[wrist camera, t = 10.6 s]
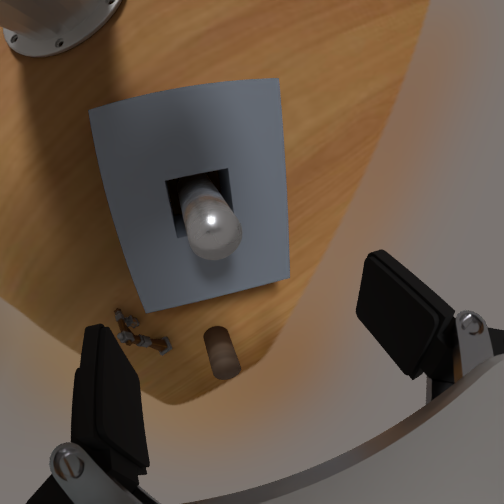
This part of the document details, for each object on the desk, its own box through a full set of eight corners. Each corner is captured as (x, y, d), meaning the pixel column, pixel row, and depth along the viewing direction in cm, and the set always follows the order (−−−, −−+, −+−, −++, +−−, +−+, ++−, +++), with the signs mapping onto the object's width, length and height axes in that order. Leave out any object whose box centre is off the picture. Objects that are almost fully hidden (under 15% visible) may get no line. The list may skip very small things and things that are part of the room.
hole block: (102, 109, 20) (88, 110, 16) (257, 82, 23) (278, 78, 19) (146, 283, 29) (146, 313, 25) (271, 253, 32) (289, 277, 28)
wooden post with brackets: (115, 302, 28) (125, 338, 25) (160, 319, 35) (173, 349, 32) (105, 311, 28) (115, 346, 26) (150, 327, 35) (162, 357, 32)
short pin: (201, 329, 34) (210, 366, 29) (226, 323, 35) (239, 358, 30) (206, 346, 36) (216, 382, 31) (230, 340, 36) (242, 375, 31)
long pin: (174, 173, 25) (183, 216, 15) (208, 166, 25) (239, 204, 16) (180, 206, 26) (194, 265, 17) (213, 199, 27) (245, 253, 18)
